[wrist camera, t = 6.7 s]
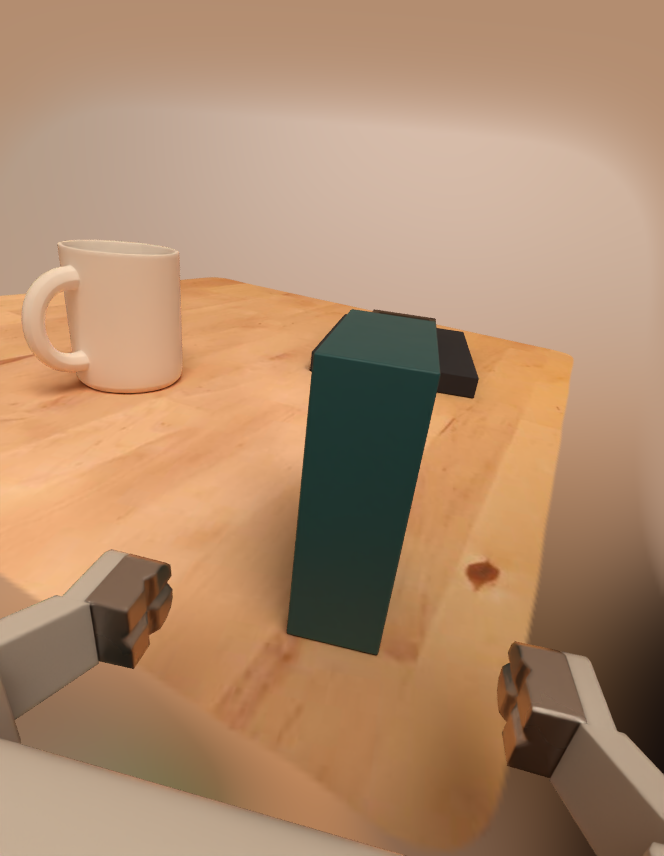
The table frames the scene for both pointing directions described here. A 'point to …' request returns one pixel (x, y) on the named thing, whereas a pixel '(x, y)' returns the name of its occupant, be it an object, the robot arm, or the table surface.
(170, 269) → the mug
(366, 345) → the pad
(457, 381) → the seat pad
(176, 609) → the table surface
